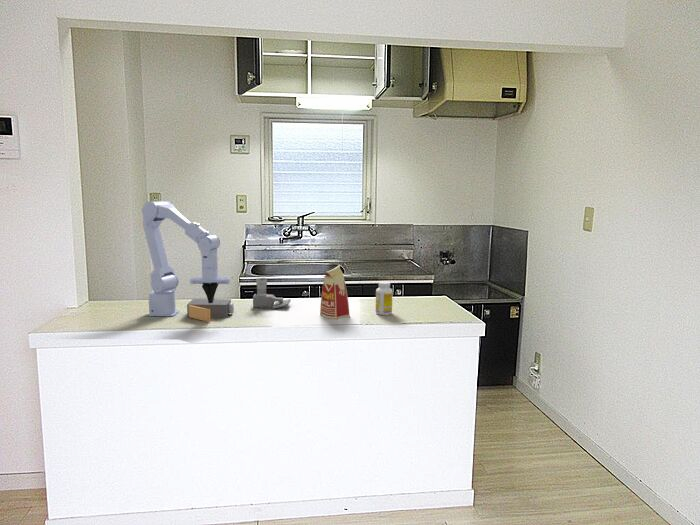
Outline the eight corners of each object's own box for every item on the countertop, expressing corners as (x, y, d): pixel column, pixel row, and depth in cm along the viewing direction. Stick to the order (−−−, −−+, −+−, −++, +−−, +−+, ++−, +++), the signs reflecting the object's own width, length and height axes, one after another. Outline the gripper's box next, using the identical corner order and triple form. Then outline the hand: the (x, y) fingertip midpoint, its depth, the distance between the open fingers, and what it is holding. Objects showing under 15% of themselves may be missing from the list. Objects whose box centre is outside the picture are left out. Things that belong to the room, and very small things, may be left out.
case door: (186, 317, 203) (186, 305, 202) (189, 316, 204) (189, 304, 204) (207, 322, 197) (207, 310, 196) (210, 321, 198) (210, 309, 198)
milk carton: (334, 311, 217) (335, 263, 213) (350, 316, 210) (351, 266, 207) (317, 315, 210) (318, 265, 207) (333, 320, 204) (334, 269, 200)
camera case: (187, 317, 205) (187, 304, 204) (193, 311, 213) (193, 298, 213) (231, 317, 205) (230, 304, 204) (235, 311, 214) (234, 299, 213)
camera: (255, 277, 224) (291, 278, 224) (255, 304, 226) (290, 305, 226) (251, 281, 216) (288, 282, 216) (251, 309, 218) (288, 310, 218)
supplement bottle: (394, 312, 216) (395, 281, 214) (388, 316, 211) (389, 284, 208) (379, 310, 219) (379, 280, 217) (372, 314, 213) (373, 282, 211)
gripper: (187, 269, 194) (188, 305, 197) (227, 269, 195) (228, 305, 197) (192, 265, 201) (193, 300, 204) (230, 265, 202) (231, 300, 204)
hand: (210, 302), depth 201 cm, fingers closed
